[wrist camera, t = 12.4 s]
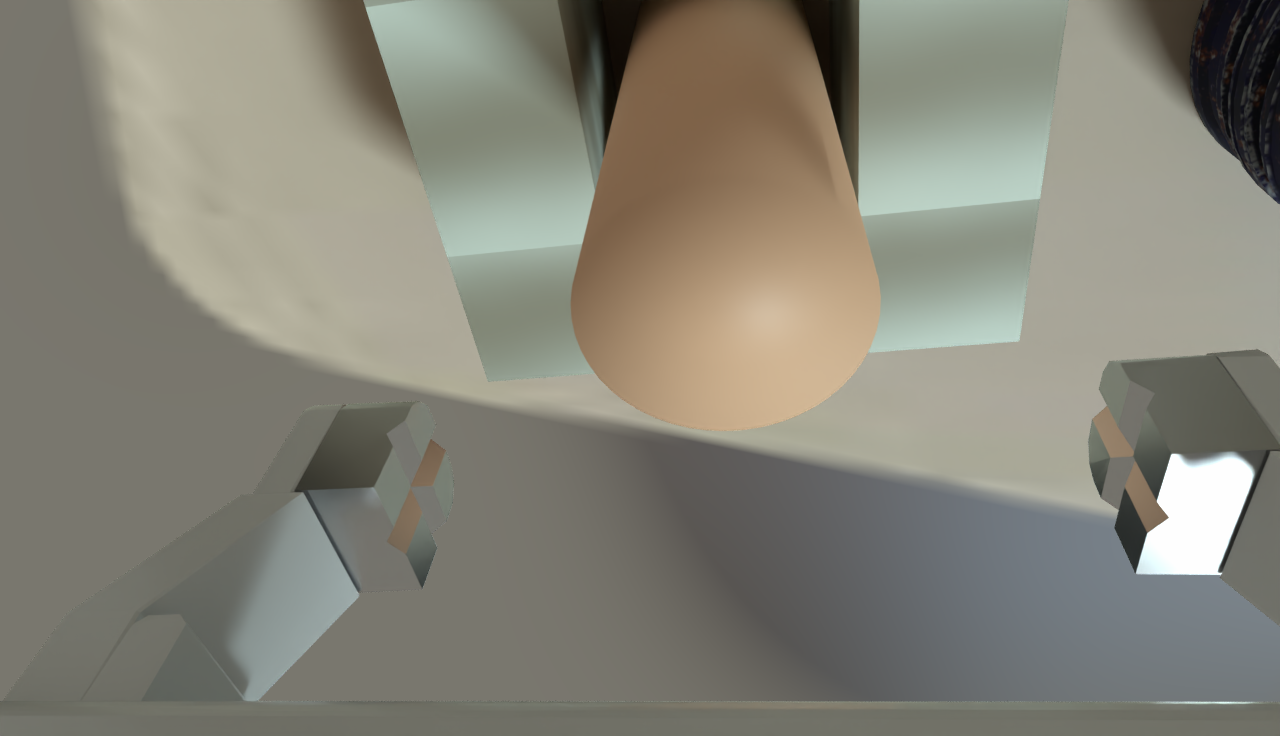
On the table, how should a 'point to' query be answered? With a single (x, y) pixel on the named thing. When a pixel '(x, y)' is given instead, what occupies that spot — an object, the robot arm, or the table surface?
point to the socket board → (865, 119)
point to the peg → (724, 225)
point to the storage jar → (1241, 83)
